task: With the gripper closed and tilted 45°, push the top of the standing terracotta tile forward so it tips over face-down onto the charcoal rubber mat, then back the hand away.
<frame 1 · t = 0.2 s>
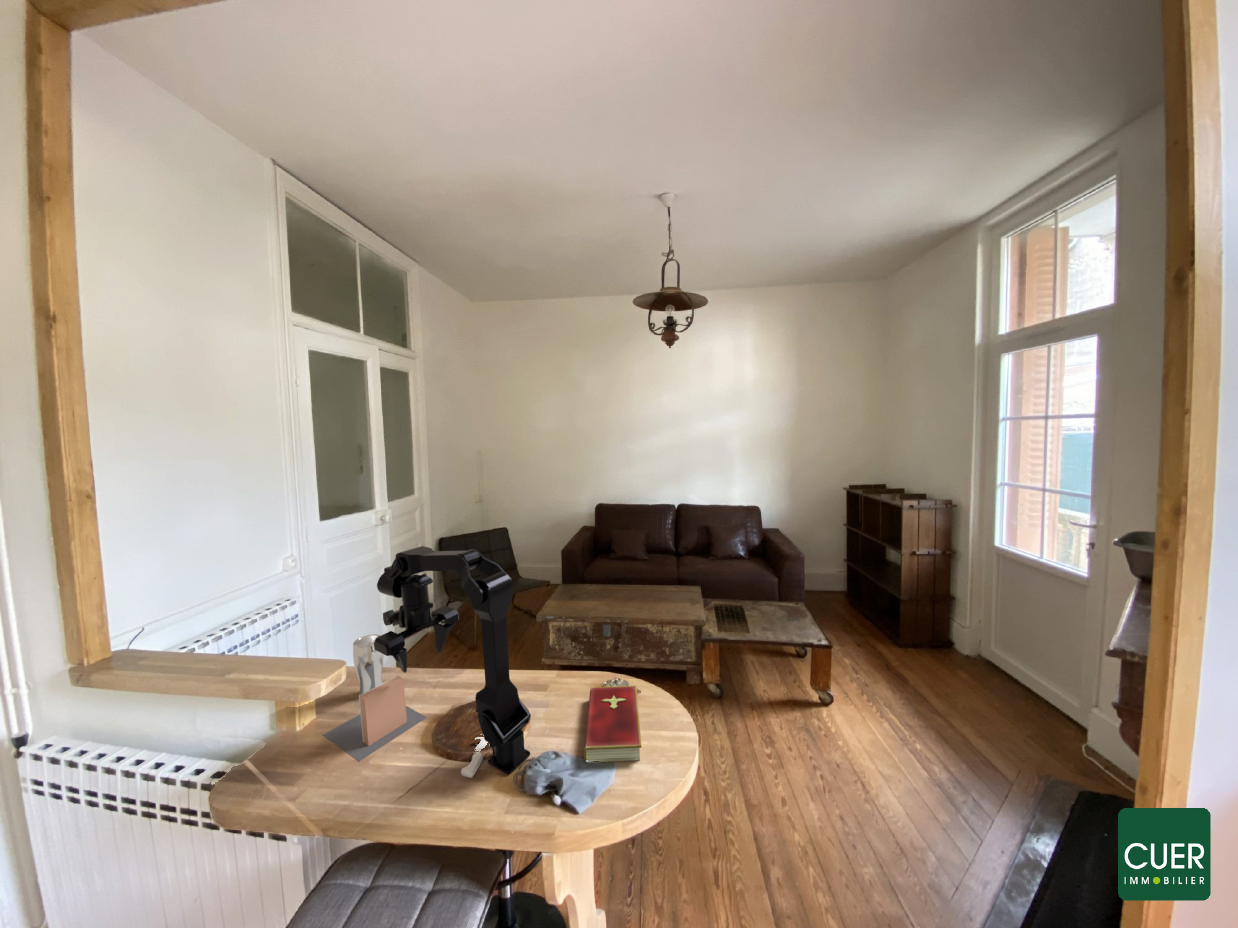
hand: (422, 661, 105), 14 cm above the counter, tool pointing down, fingers open, 9 cm apart
mat: (376, 728, 103), on the counter
tile: (385, 731, 101), point 1 cm above the counter, touching mat
knife: (482, 729, 102), on the counter
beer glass: (372, 694, 117), on the counter
hardcover book: (613, 730, 101), on the counter
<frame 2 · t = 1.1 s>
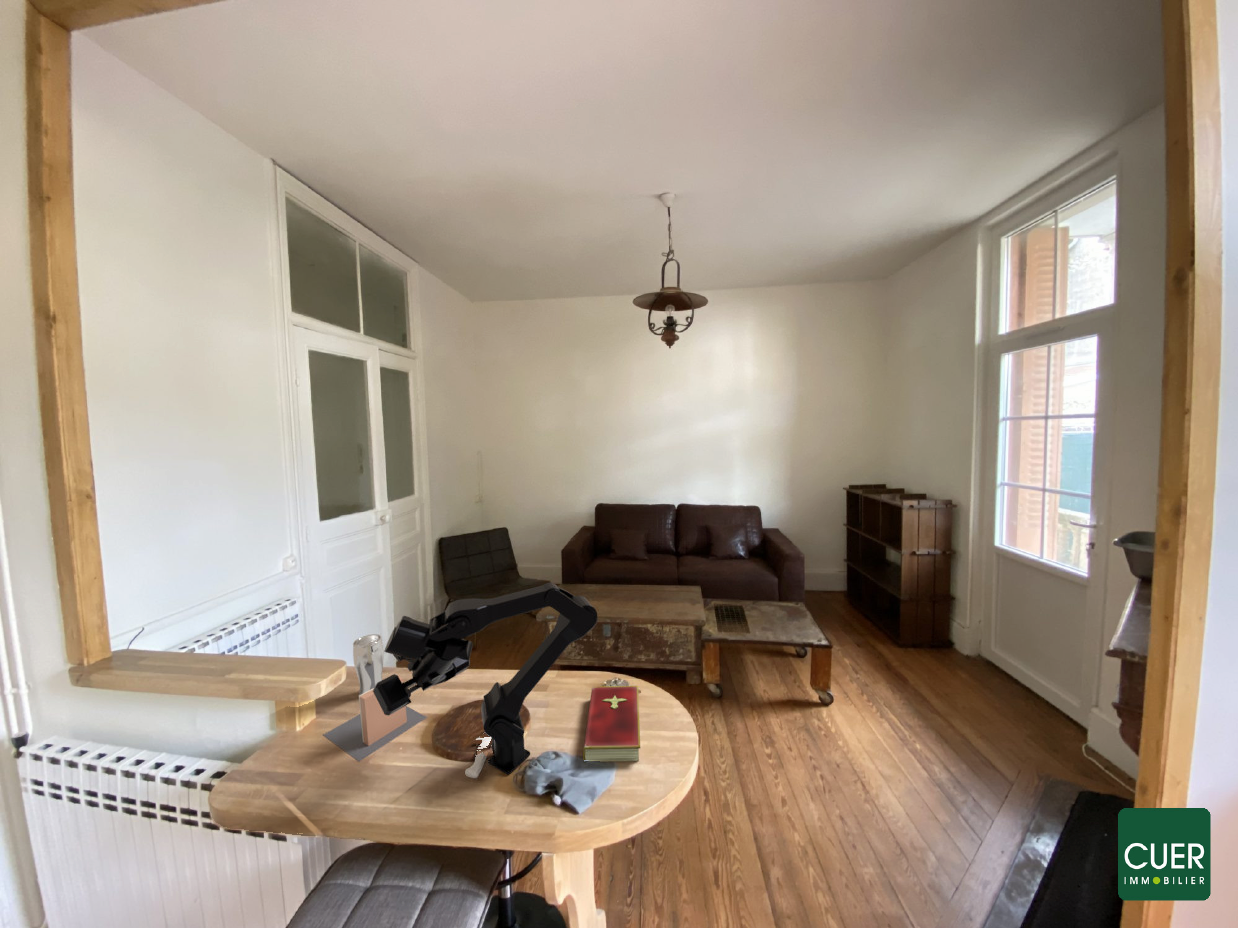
hand: (411, 693, 94), 13 cm above the counter, tool tilted 45°, fingers open, 7 cm apart
nothing on the counter moved.
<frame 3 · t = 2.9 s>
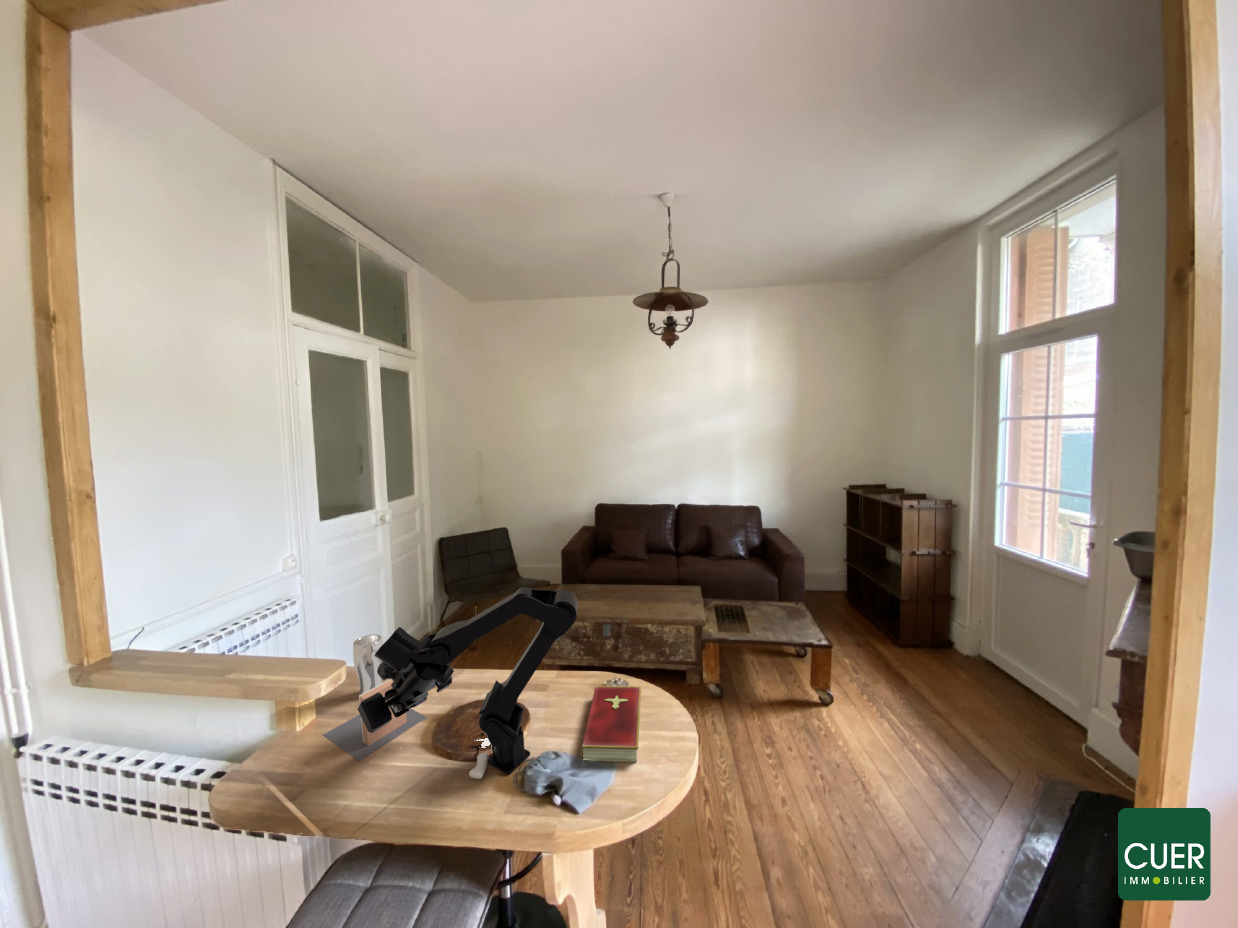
hand: (395, 709, 98), 8 cm above the counter, tool tilted 45°, fingers closed
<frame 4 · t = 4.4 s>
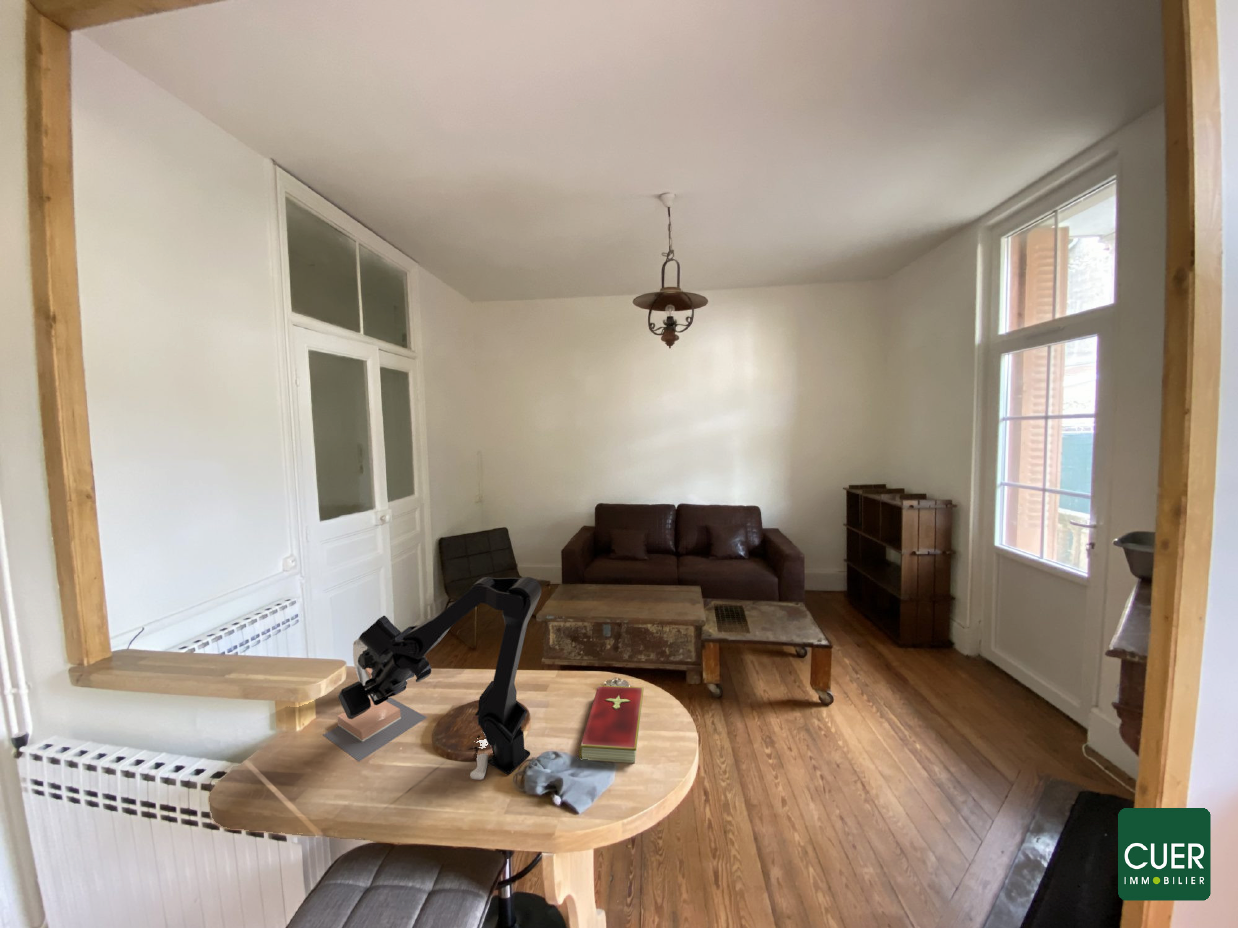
hand: (375, 698, 102), 8 cm above the counter, tool tilted 45°, fingers closed
tile: (381, 724, 101), point 2 cm above the counter, tilted 90°, touching mat
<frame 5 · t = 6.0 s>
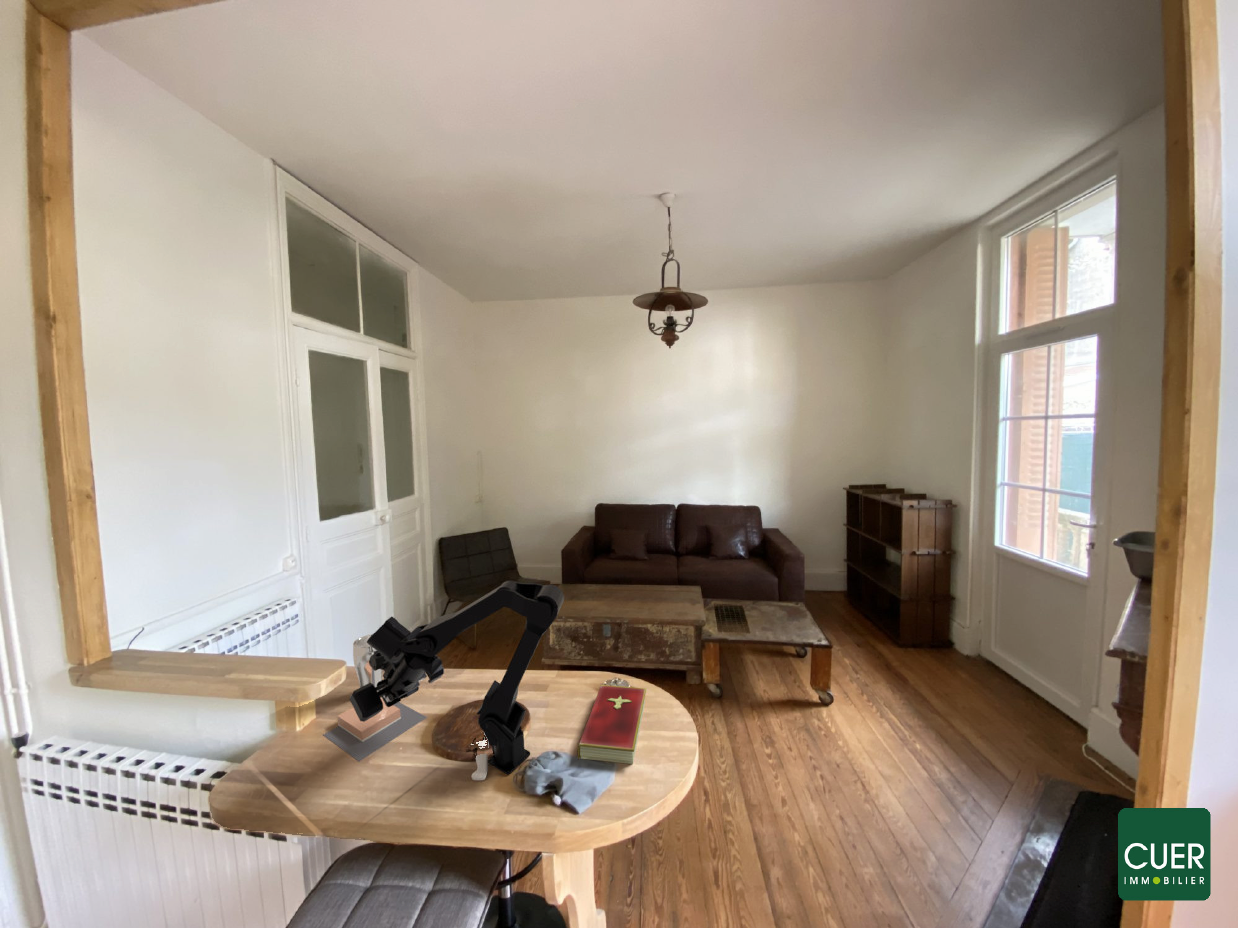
hand: (388, 700, 99), 9 cm above the counter, tool tilted 45°, fingers closed
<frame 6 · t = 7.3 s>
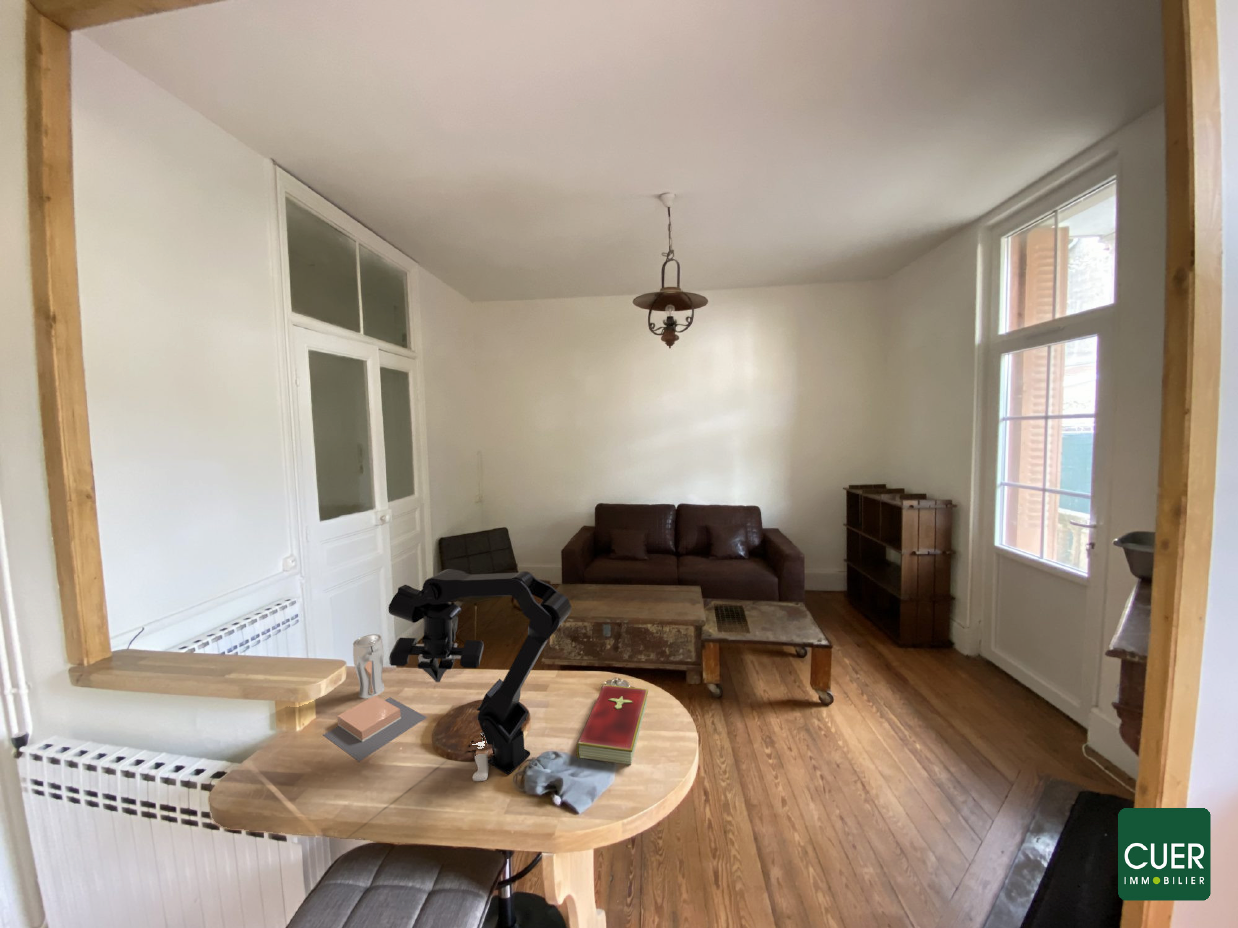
hand: (438, 680, 100), 13 cm above the counter, tool tilted 20°, fingers closed
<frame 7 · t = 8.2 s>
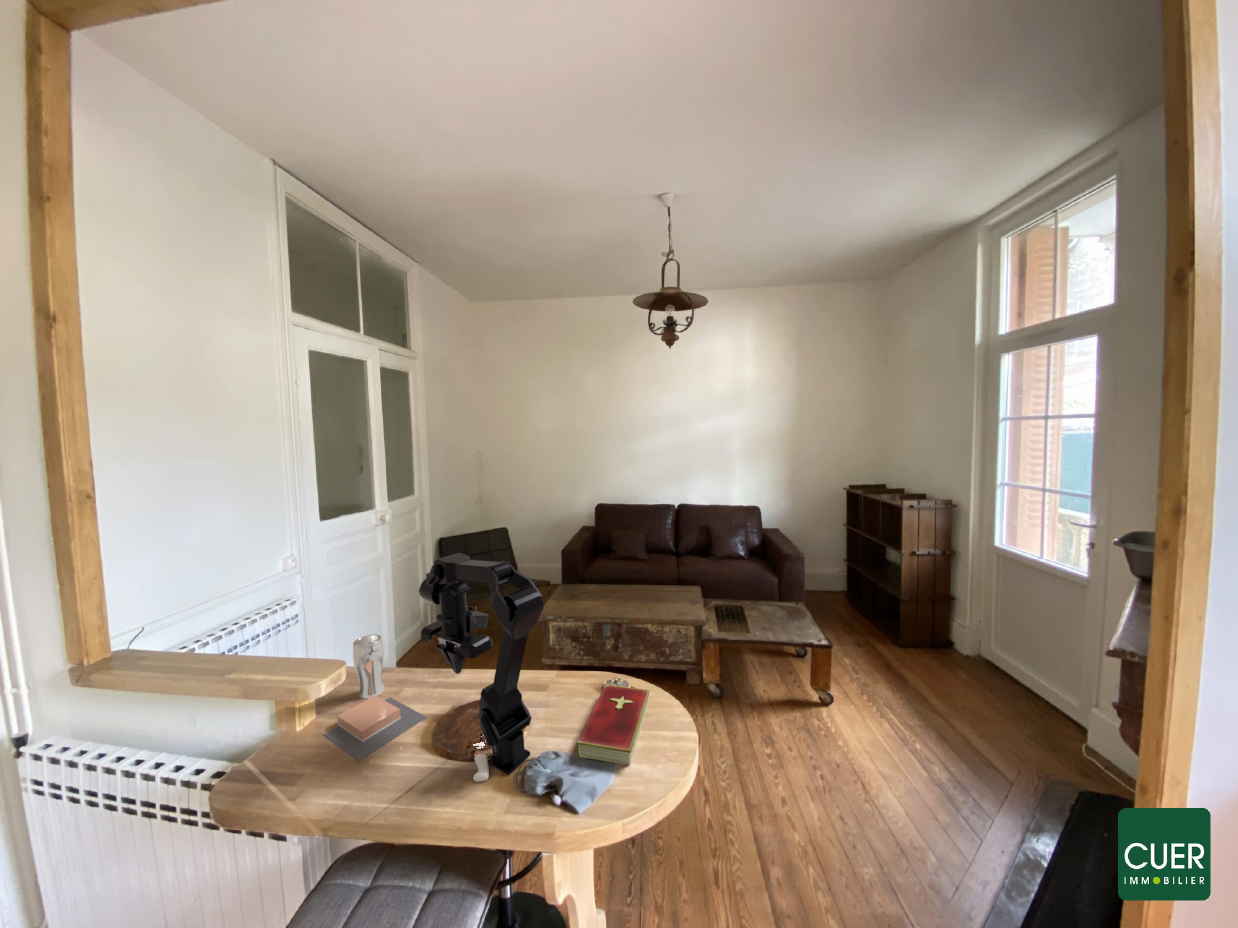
hand: (458, 672, 102), 13 cm above the counter, tool pointing down, fingers closed
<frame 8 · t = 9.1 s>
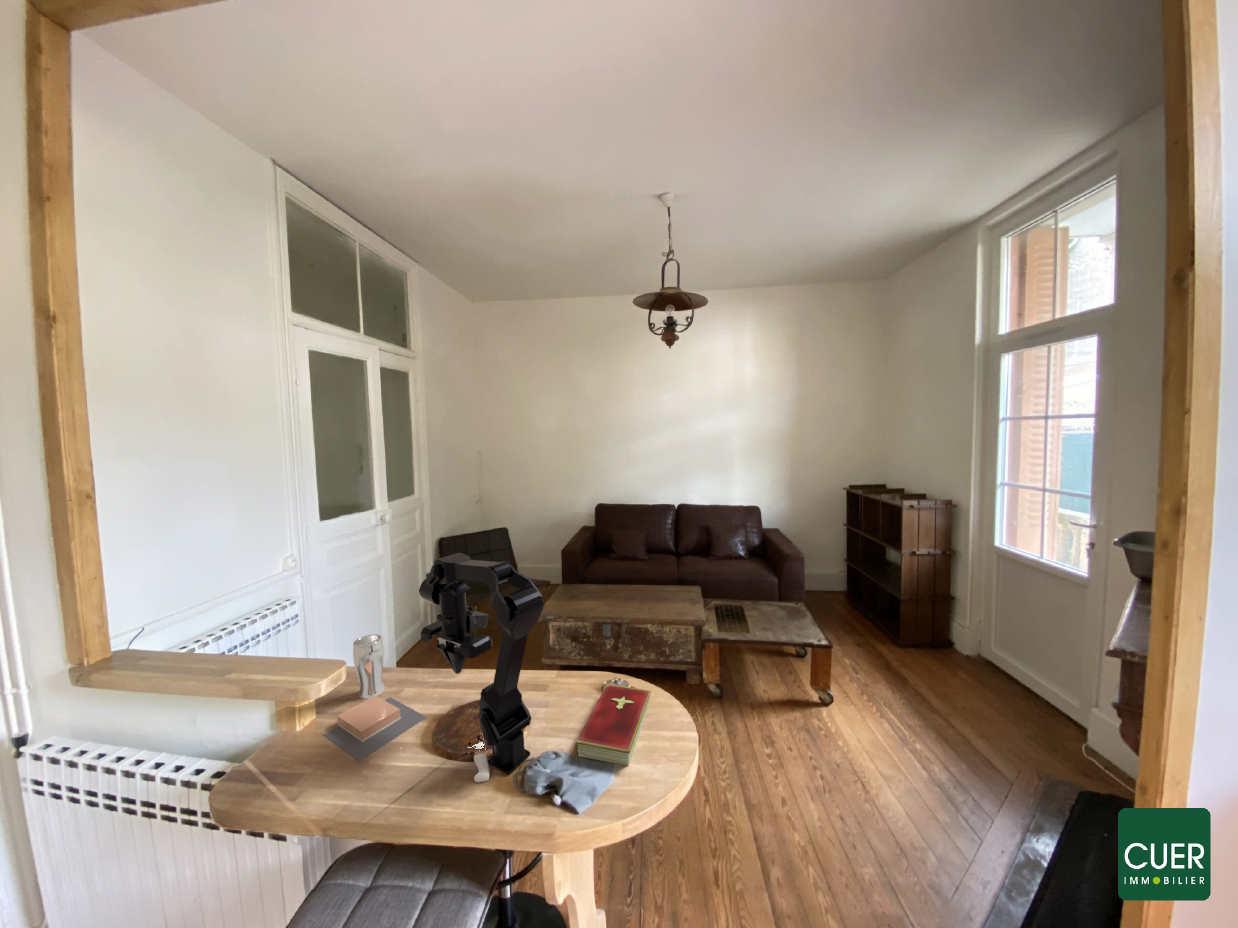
hand: (458, 672, 102), 13 cm above the counter, tool pointing down, fingers closed
at the end: tile tilted 90°; tile inside the target area (2.2 cm from its centre), point 1.8 cm above the counter; tile touching mat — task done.
